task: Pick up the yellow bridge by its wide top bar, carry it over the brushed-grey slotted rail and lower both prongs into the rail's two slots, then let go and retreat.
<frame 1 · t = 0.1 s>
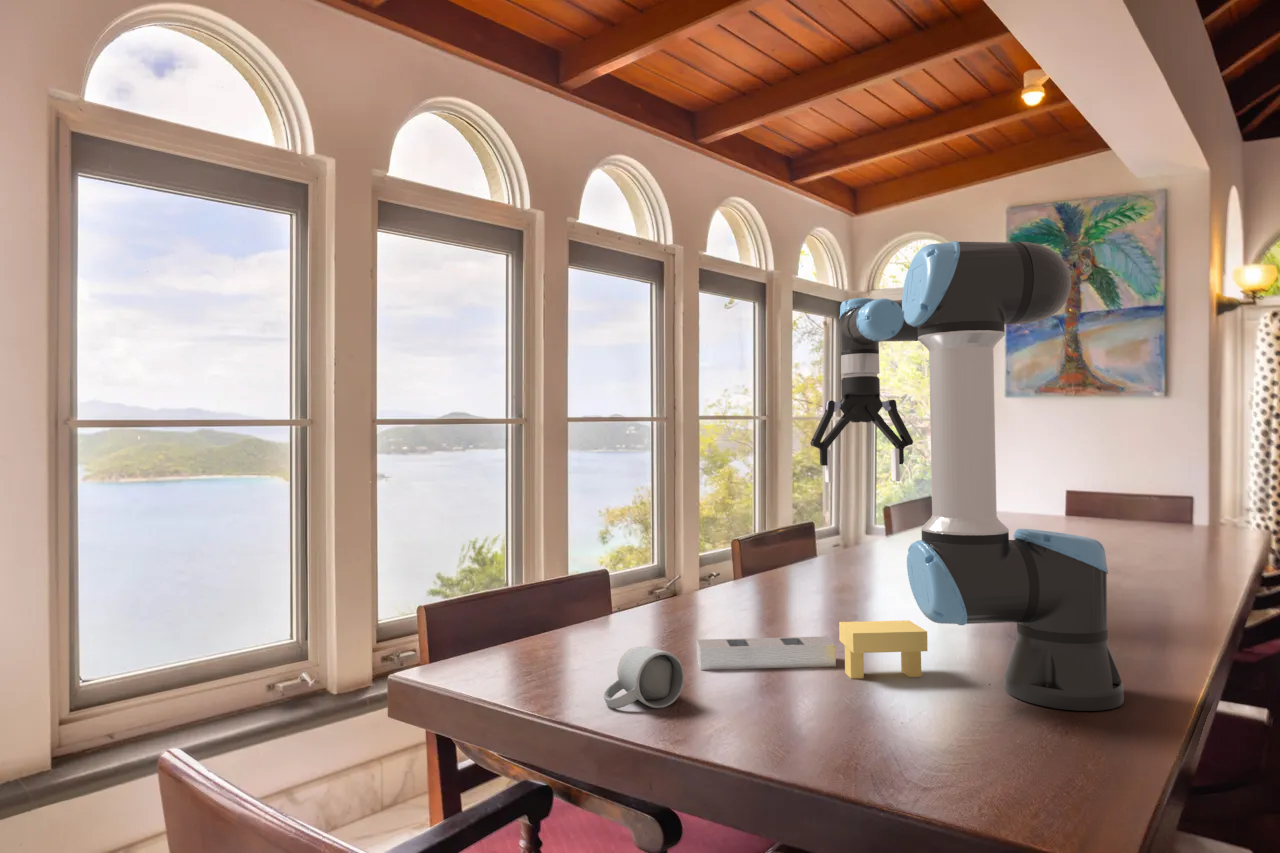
hand: (862, 481, 168), 28 cm above the table, fingers open, 13 cm apart
ceramic mug: (641, 704, 118), on the table
yellow bridge: (882, 674, 130), on the table
rail: (765, 663, 137), on the table
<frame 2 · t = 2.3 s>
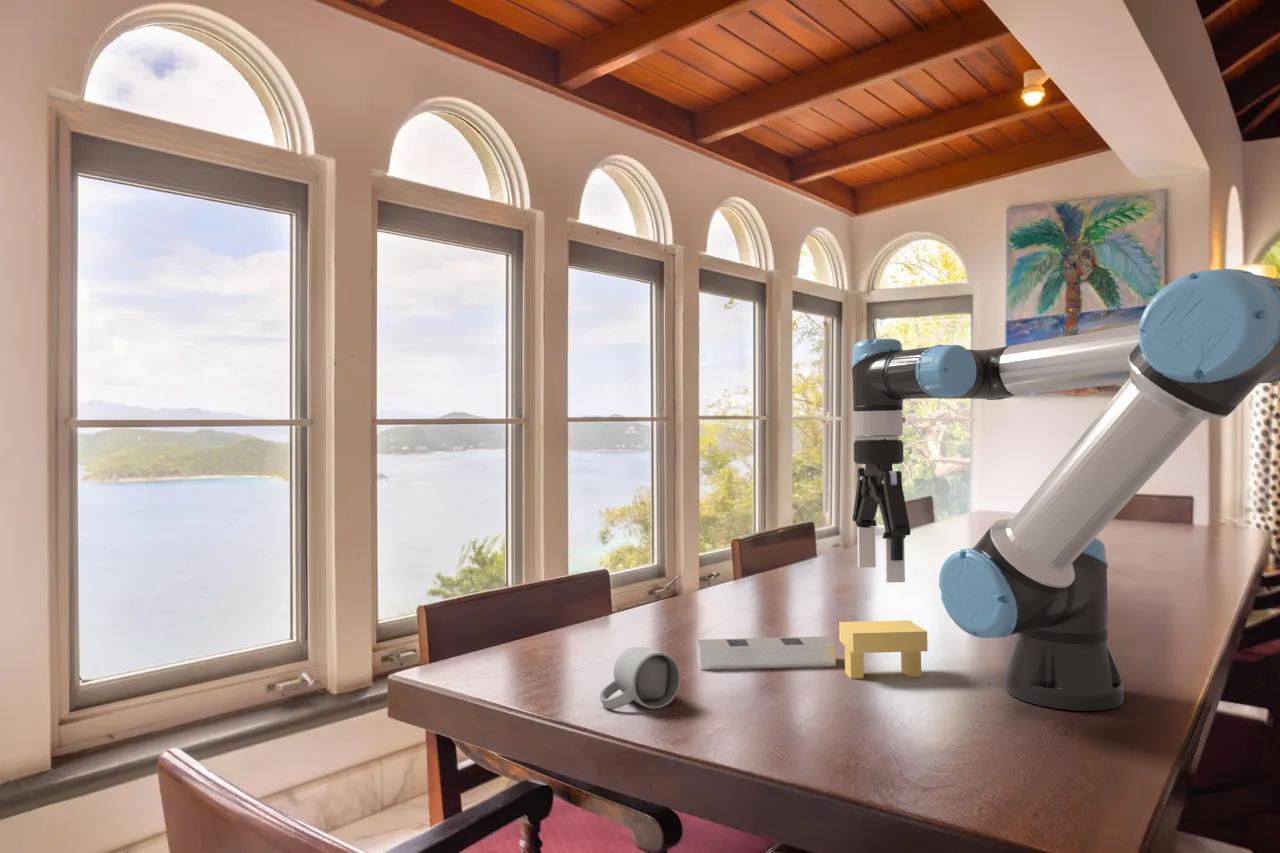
hand: (880, 574, 130), 16 cm above the table, fingers open, 13 cm apart
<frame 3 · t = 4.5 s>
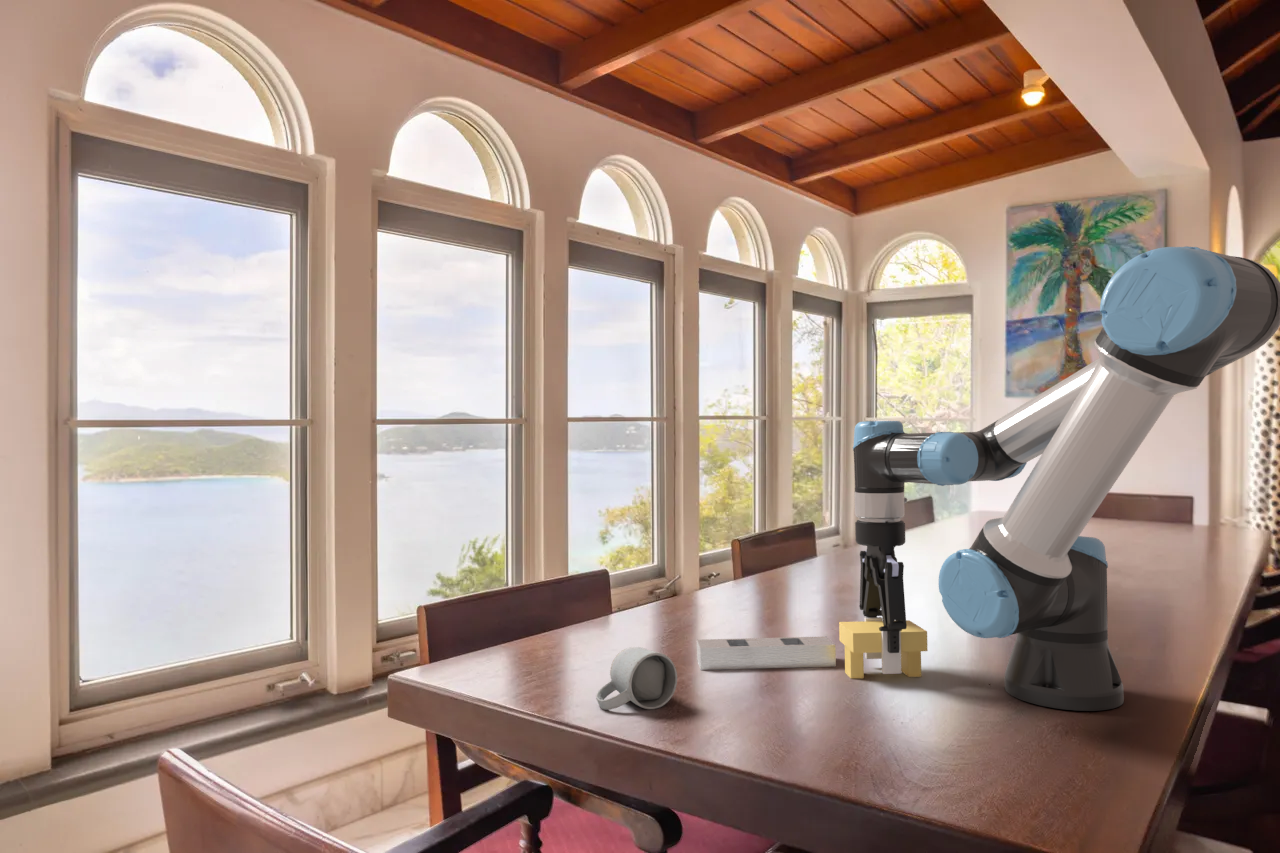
hand: (882, 665, 130), 1 cm above the table, fingers closed on yellow bridge, 8 cm apart
yellow bridge: (882, 674, 130), on the table, touching gripper
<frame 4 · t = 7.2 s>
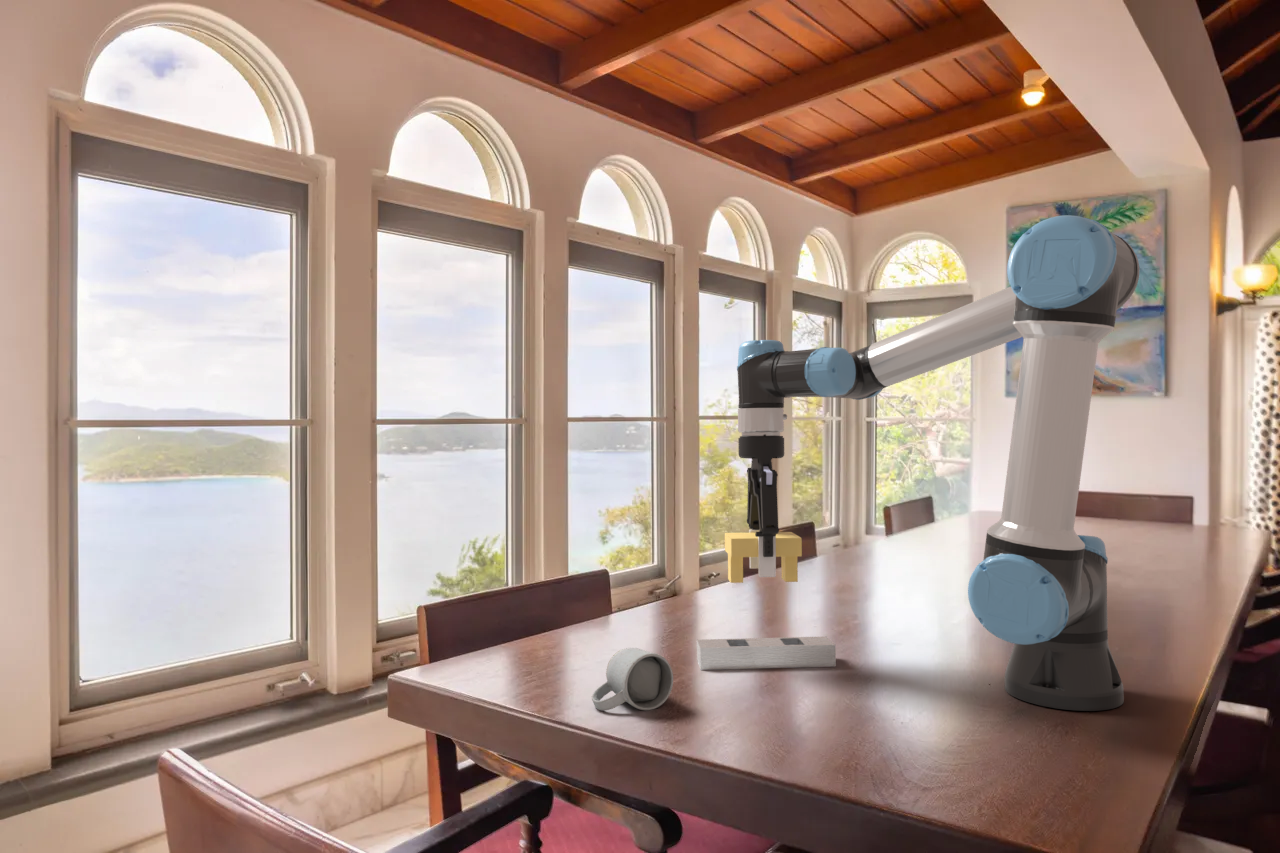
hand: (762, 572, 138), 15 cm above the table, fingers closed on yellow bridge, 8 cm apart
yellow bridge: (762, 580, 138), point 14 cm above the table, touching gripper
when the fingers open (3 cm above the table, at t = 10.0 s): yellow bridge stays where it is, resting on rail.
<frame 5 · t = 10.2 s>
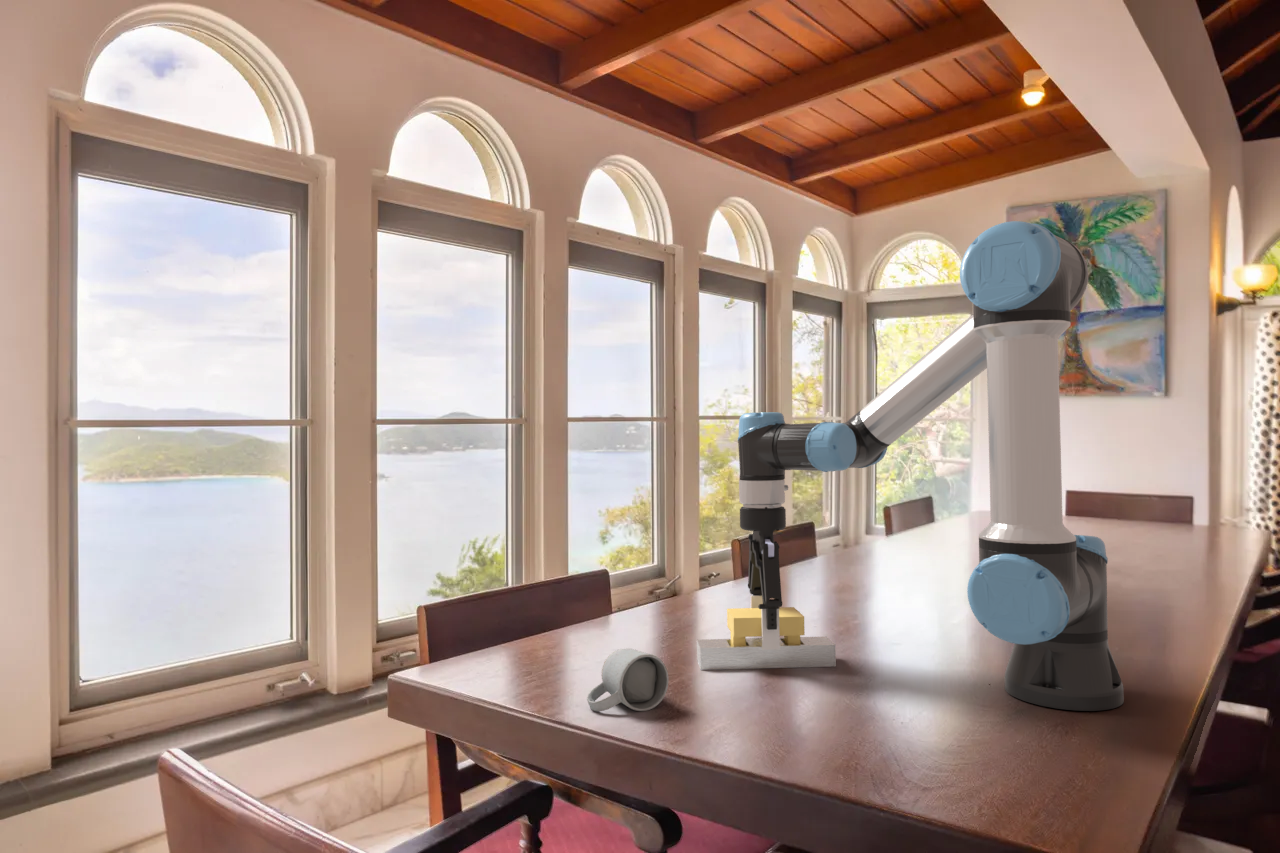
hand: (764, 641, 137), 4 cm above the table, fingers open, 9 cm apart
yellow bridge: (765, 658, 137), point 1 cm above the table, touching rail
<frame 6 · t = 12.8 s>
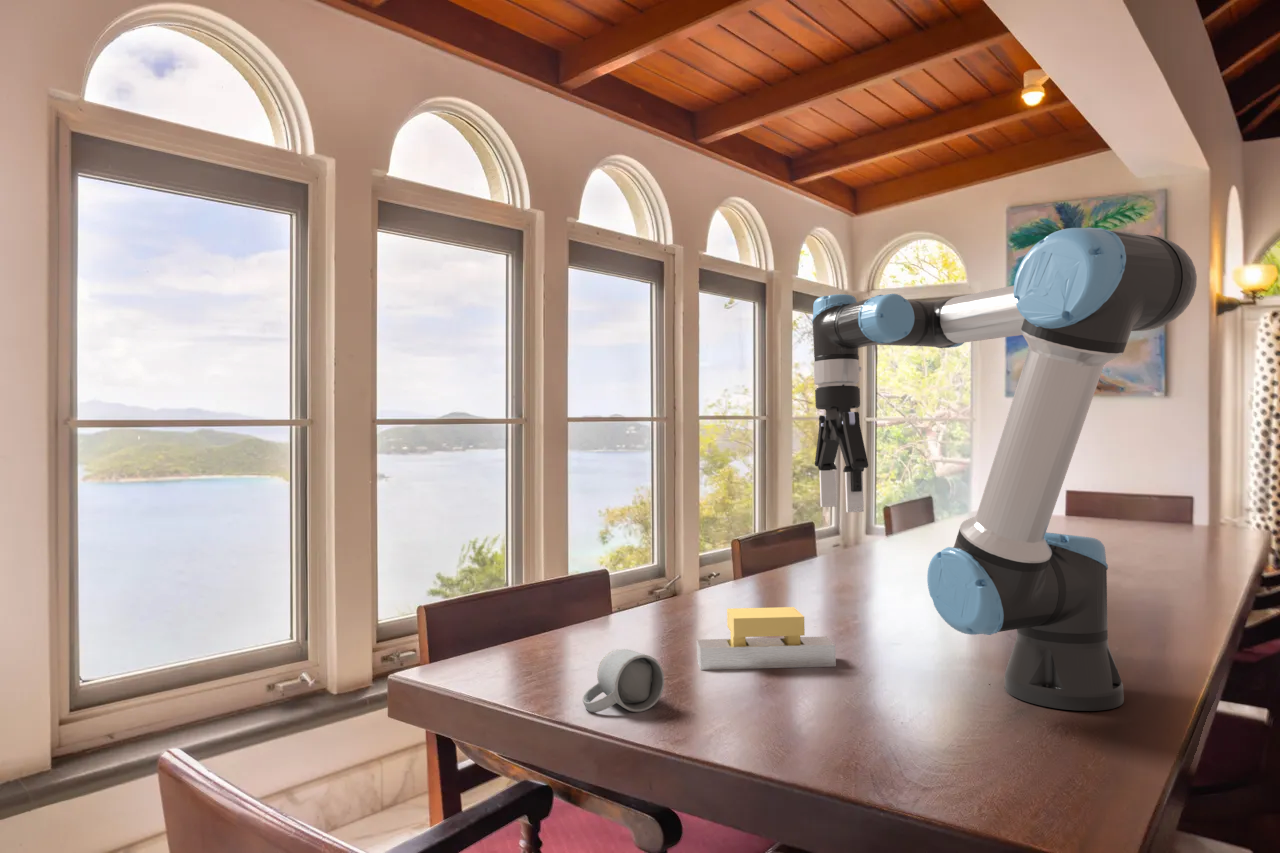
hand: (841, 509, 143), 25 cm above the table, fingers open, 13 cm apart
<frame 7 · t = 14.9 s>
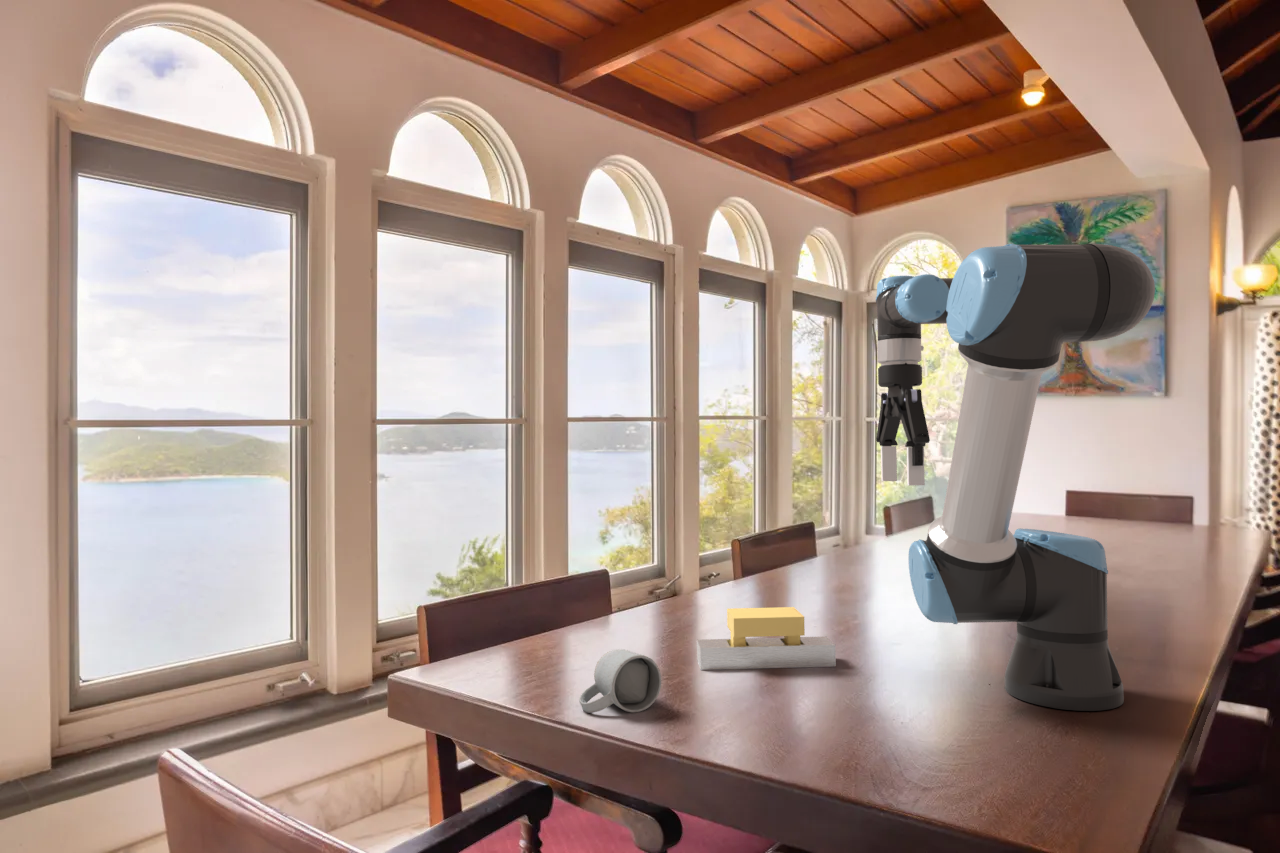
hand: (902, 483, 148), 29 cm above the table, fingers open, 13 cm apart
at the end: yellow bridge 0.1 cm off-centre on the rail, point 0.9 cm above the rail's base; yellow bridge tilted 0°; the gripper is holding nothing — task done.
